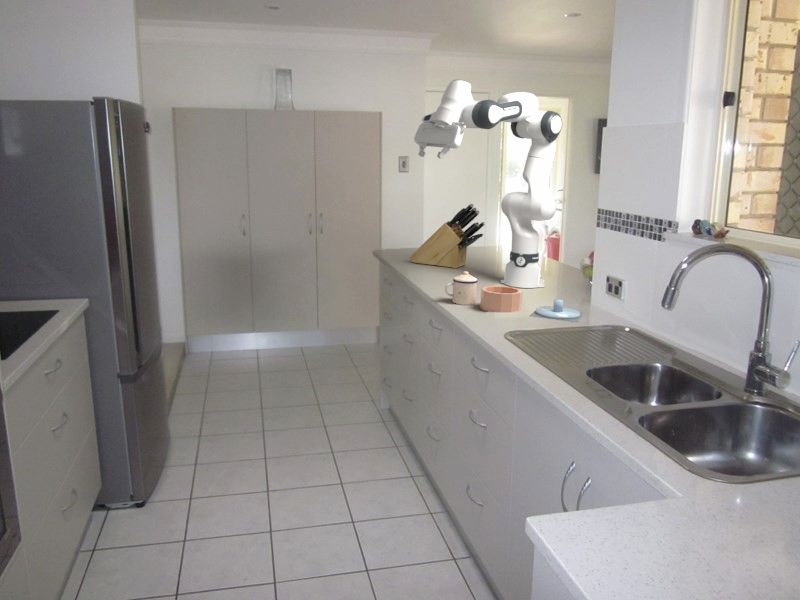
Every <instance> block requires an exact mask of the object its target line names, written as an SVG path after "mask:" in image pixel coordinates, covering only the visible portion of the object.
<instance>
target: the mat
mask: <svg viewBox="0 0 800 600" xmlns="http://www.w3.org/2000/svg"><path fill="white" fill-rule="evenodd" d="M579 312H580V317H579V318H576V319H555V320H556V321H565V322H571V323H578V322H579V320H580V319H581V318H582V317H583V315H584V314H585V311H579ZM529 317H533V318H541V319H548V320H553V319H552V318H547V317H543V316H540V315H538V314H536V309H535V310H534V311H532V313H531V314H530V315H529Z"/></svg>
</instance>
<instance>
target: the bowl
mask: <svg viewBox="0 0 800 600" xmlns="http://www.w3.org/2000/svg"><path fill="white" fill-rule="evenodd" d="M523 292H524V291H523V290H522V289H520V288H519V287H513V286H508V285H506V286H505V285H489V286H488V285H487V286H483V287H482V288H481V291H480V306H479V308H480V307H481V308H482V309H481V308H480V309H481V310H482V311H484V310H485V312H496V313H516V312H519V311H520V310H522V307H523V306H522V305H523V304H522V302H523Z"/></svg>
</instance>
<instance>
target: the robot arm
mask: <svg viewBox="0 0 800 600" xmlns="http://www.w3.org/2000/svg"><path fill="white" fill-rule="evenodd" d="M471 90H472V85H471V83H469V82H468V81H466V80H463V79H453V80H451V81H450V82H449V83H448V85H447V86H446V89H445V90H444V92H443V95H442V97H441V100H440V104H439V106H438V107H437V108H436V111H434V112H431V113H429V114H427V115H424V116H423V117H422V119H421V123H420V125H419V126H418V128H417V130H416V132H415V135H414V138H413V140H414V143H416V145H417V146H418V147H419V151H418V156H419V157H420V158H421V157H425V155H426V152H425V149H426V147H430V148H442V149H441V150H440V151H438V153H437V155H436V157H437V158H438V159H441V160H442V159H444V156H445V155H446V154H447V153H448V152H449V151H450V149H458V148H460V146H461V144H462V140H463V137H464V132H465V129H482V130H483V129H484V130H491V129H493V128H494V127H496V126H497V125H498V124H499V123H501V122H502V123H510V130H511V133H512V135H513V136H514V137H516V138H519V139H527V140H528V139H529V140H531V145H530V147H529V150H528V153H527V156H526V160H525V164H524V169H523V172H522V178H523V180H524V181H525V182H526V183H527V187H528V188H527V189H528V191H527V192H522V191H514V192H509V193H506V194H505V195H504V196H503V197H502V199H501V203H500V204H501V205H500V206H501V207H500V208H501V211H502V213H503V214H504V215H505V216H506V218H507V220H508V222H509V225H510V229H511V251H510V253H509V261H508V262H507V263H505V268H504V269H505V270H504V278H503V279H501V280H500V281H499V282H500V283H501V284H503V285H506V286H507V287H514V288H519V289H520V288H524V289H536V288H545V279H544V278H542V277H543V276H542V275H541V266H540V263H539V261H540V254H539V244H540V243H539V242H540V235H539V233H538V231H537V230H536V229H535V228H534V227H533V224H532V221H536V222H540V221H542V222H543V221H549V220H551V219H552V218H553V217H554V216H555V214H556V211H557V202H556V200H555V198H554V197H553V196H552V193H551V191H550V190H551V189H550V180H551V173H552V169H553V167H554V162H555V157H556V150H557V141H556V140H557V138H558V136H559V135H560V133H561V131H562V128H563V120H562V119H563V118H562V116H561V115H560V113H558V112H556V111H553V110H539V108H540V107H539V104H540V102H539V100H538V97H537V96H536V95H535V94H534V93H531V92H526V91H525V92H524V91H516V92H510V93H506V94H504V95H501V96H500V97H499V98H498V99H497V102H496V101H495V100H493V99H483V100H474V98H473V95H472V92H471Z"/></svg>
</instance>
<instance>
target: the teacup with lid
mask: <svg viewBox="0 0 800 600" xmlns="http://www.w3.org/2000/svg"><path fill="white" fill-rule="evenodd" d="M452 281H453V282H448V283H447V284H446V285H445V286H444V291H445V294H446V295H447V296H449V297H452V303H453V302H454V304H455V303H456V305H460V304H461V305H460V306H462V305H463V306H471V305H475V304H476V303H477V285H478V279H477V278H476V277H474V276H472V275H471V274H469V271H465V270H464V271H462V273H461V274H459V275H458V276H454V277H453V278H452ZM450 286H452V287H453V288H452V294H451V293H449V292H448V287H450Z"/></svg>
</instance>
